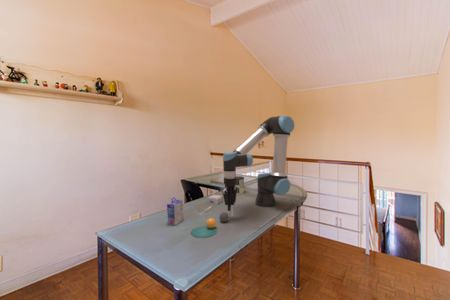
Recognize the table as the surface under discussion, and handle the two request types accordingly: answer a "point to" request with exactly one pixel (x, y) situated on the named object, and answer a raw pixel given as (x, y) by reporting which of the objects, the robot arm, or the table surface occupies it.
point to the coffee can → (239, 184)
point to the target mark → (203, 232)
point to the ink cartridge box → (175, 211)
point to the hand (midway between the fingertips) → (230, 215)
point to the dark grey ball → (224, 217)
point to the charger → (214, 199)
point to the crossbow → (205, 211)
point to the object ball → (211, 223)
